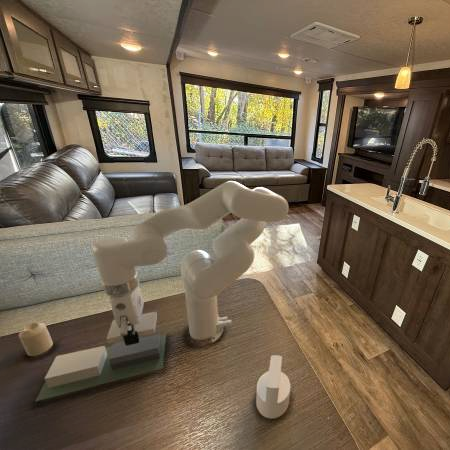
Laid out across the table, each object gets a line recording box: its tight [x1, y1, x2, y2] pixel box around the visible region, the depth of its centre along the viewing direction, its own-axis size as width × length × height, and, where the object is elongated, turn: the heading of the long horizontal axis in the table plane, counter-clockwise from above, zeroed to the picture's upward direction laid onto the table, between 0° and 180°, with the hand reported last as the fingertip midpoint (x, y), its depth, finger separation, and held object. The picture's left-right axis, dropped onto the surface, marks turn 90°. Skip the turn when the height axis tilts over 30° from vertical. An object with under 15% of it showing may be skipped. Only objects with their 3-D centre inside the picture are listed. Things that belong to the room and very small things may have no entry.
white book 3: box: [105, 311, 158, 345], centre depth 70 cm, size 11×7×2 cm, turn 113°
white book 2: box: [47, 351, 107, 388], centre depth 69 cm, size 11×7×2 cm, turn 113°
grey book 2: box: [111, 340, 162, 370], centre depth 74 cm, size 12×6×2 cm, turn 113°
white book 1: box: [44, 345, 106, 383], centre depth 68 cm, size 11×7×2 cm, turn 113°
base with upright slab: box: [255, 354, 291, 420], centre depth 65 cm, size 9×9×12 cm
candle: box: [18, 322, 54, 357], centre depth 73 cm, size 6×6×10 cm
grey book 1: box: [109, 333, 161, 365], centre depth 73 cm, size 12×6×2 cm, turn 113°
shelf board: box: [35, 334, 167, 403], centre depth 72 cm, size 28×13×2 cm, turn 113°
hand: (135, 332), depth 71 cm, fingers closed on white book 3, 7 cm apart
